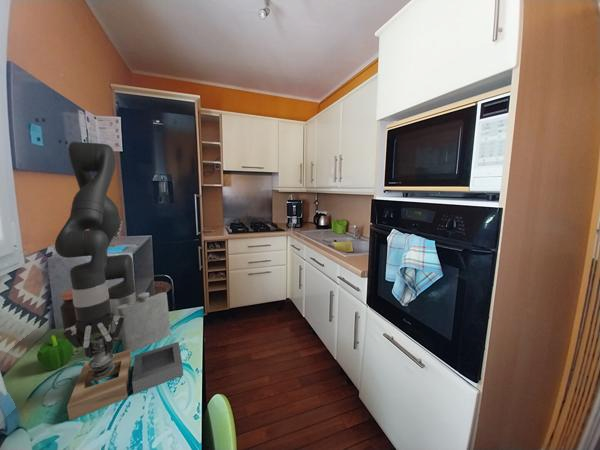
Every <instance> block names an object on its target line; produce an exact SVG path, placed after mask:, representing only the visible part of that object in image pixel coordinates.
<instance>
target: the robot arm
mask: <svg viewBox="0 0 600 450" xmlns="http://www.w3.org/2000/svg"><path fill="white" fill-rule="evenodd" d="M68 158H69V161H70V164H71V168H72V171H73V173H74V176H75V179H76V182H77V185H78V188H79V190H78V191H77V192H76V193H75V195H74V197H73V198H72V199H73V200H72V203H71V208H70V209H71V210H70V215H69V217H68V218H67V220H66V222H65V224H64V225H63V227H62V228H61V230H60V231H59V232H58V235H57V237H56V239H55V242H54V249H55V252H56V253H57V255H59V257H62V258H65V259H68V258H69V259H70V258H71V259H72V258H80V257H90V256H91V258H90V260H89V261H87V262H84V263H81V264H77V265H75V266H73V267H71V269H70V271H69V276H70V280H71V288H72V290H73V304H74V308H75V314H76V319H77V323H76V324H75V325H74V326H72V327H68V328H66V330H65V331H64V332H63V333H62V335H63V336H64V337H65V339H66V338H67V339H68V340H69V342H70V343H71V344H72V345H73V348H75V349H79V348H84V355H85V358H88V359H93V358H94V353H93V352H92V350H93V343H92V342H91V341H92V336H93V335H95V334H100V333H101V334H102V335H101V336H104V337H105V342H106V346H107V352H108V353H112V350H114V346H115V344H114V341H122V335H121V327H122V324H123V321H124V317H125V315H120V316H119V313H118V307H119V306H121V305H124V304H128V303H130V302H133V301H136V300H137V296H136V288H135V280H134V279H135V278H134V263H133V262H134V261H133V258H132V256H131V255H130V254H127V253H126V254H118V255H117V254H116V255H108V253H107V252H108V248H109V246H110V244H111V242H112V240H113V239H114V238H115V236H116V234H117V233H118V231H119V230H120V227H121V218H120V214H119V213H120V212H119V208H118V206H117V205H116V203H115V202H114V200H112V199H111V198H110V197H109V196H108V195H107V194H108V192H109V188H110V185H111V182H112V179H113V177H114V172H115V169H116V165H117V164H116V163H117V159H116V158H117V157H116V154H115V151H114V148H113V147H112V146H111V145H109V144H106V143H98V142H97V143H96V142H95V143H94V142H86V141H85V142H84V141H73V142H72V141H71V142H70V144H69V145H68ZM91 173H96V174H95V176H94V177H92V174H91ZM118 279H123V280H122V281H120V282H119V283H116V284H115V285H112V286H111V287H108V284H107V282H106V281H112V280H118ZM76 329H78V330H80V331H81V332H83V333H85V336H84V340H82V339H81V338H80V337H79V336H78V335H77V333H76V332H77V330H76Z"/></svg>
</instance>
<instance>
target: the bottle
mask: <svg viewBox="0 0 600 450" xmlns="http://www.w3.org/2000/svg"><path fill="white" fill-rule="evenodd" d="M61 300H62V301H63V303H62V304H61V306H60V313H61V319H62V324H63V329H64V331H65V330H66V328H68V327H72V326H74V325H75V324H76V323H77V319H76V314H75V308H74V304H73V289H70V290H66V291H64V292H62V293H61ZM76 330H77V332H76V333H77V335H78V336H79V337H80V338H81V339H82V340H84V336H85V333H83V332H81V331H80V330H78V329H76ZM65 339H67V338H66V337H65Z"/></svg>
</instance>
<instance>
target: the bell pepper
mask: <svg viewBox="0 0 600 450" xmlns="http://www.w3.org/2000/svg"><path fill="white" fill-rule="evenodd" d="M50 339H51V341H49V342H45V343H43V344H42V345H41V346H40V348H39V350H38V351H37V353H36V359H37V361H38V363H39V364H40V366H41V367H42V368H43V369H44V370H46V371H54V370H57V369H59V368H60V367H62V366H65V365H67V364H69V362H71V359H72V358H73V357H72V356H73V352H74V346H73V345H72V344H71V343H70V342H69V340H68V339H66V338H64V339H63V338H59V337H58V338H56V336H55V335H54V334H53V335H50Z"/></svg>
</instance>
